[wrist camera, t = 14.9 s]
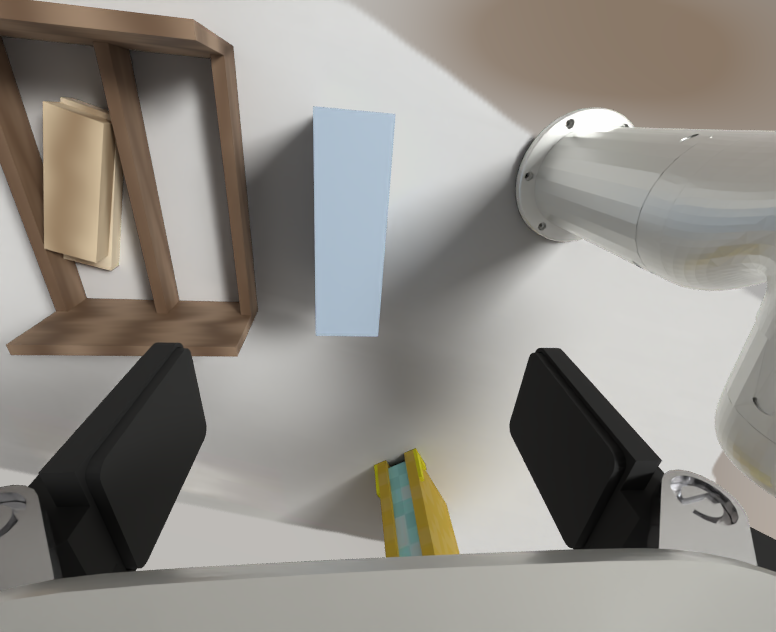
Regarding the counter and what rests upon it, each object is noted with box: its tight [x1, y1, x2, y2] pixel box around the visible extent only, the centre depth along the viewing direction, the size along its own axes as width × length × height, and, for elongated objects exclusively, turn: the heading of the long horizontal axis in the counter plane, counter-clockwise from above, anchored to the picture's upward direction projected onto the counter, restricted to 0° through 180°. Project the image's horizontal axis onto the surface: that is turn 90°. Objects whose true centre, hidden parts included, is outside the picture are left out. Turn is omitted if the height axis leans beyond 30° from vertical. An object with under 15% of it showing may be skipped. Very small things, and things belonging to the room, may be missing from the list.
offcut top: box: [43, 101, 116, 263], centre depth 31 cm, size 4×12×2 cm, turn 158°
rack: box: [0, 0, 258, 356], centre depth 30 cm, size 18×24×9 cm
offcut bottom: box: [60, 97, 124, 271], centre depth 33 cm, size 4×14×2 cm, turn 160°
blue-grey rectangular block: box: [313, 106, 395, 337], centre depth 31 cm, size 5×16×12 cm, turn 175°
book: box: [374, 448, 459, 558], centre depth 47 cm, size 17×7×25 cm, turn 24°
